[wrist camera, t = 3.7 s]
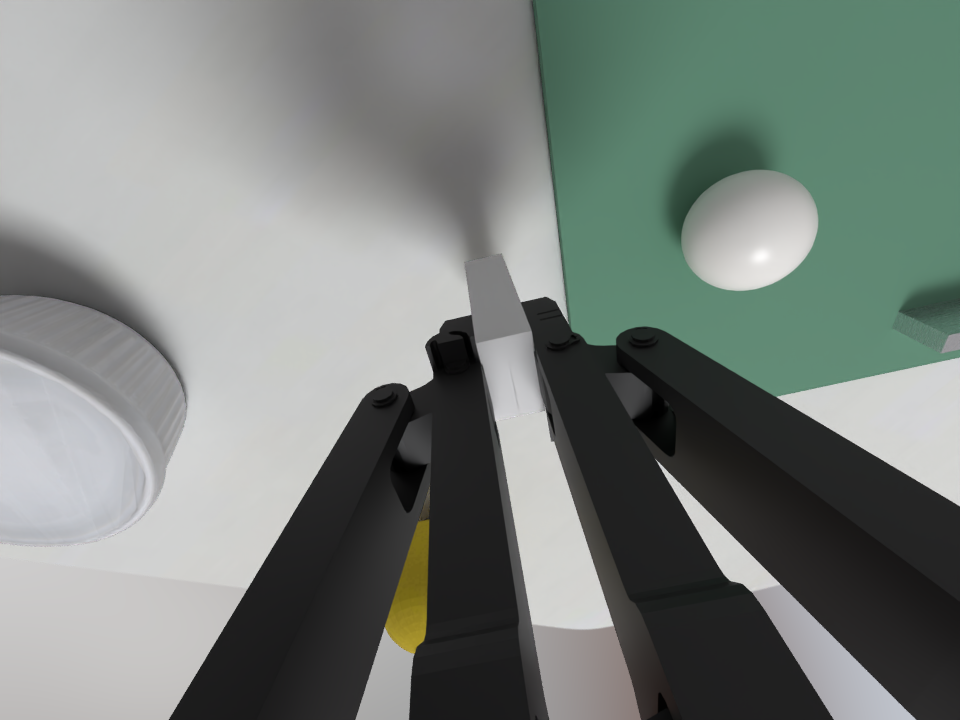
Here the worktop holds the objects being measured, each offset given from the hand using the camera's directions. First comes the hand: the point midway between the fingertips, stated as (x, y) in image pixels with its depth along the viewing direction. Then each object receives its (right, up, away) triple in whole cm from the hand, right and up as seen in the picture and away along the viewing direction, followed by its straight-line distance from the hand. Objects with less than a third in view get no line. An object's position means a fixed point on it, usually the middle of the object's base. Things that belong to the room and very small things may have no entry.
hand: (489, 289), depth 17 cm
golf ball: (+10, +2, -1) cm, 10 cm away
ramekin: (-20, -4, +3) cm, 20 cm away
